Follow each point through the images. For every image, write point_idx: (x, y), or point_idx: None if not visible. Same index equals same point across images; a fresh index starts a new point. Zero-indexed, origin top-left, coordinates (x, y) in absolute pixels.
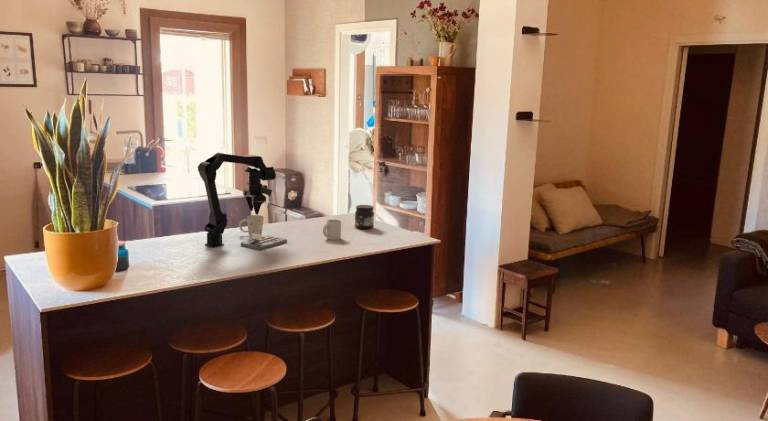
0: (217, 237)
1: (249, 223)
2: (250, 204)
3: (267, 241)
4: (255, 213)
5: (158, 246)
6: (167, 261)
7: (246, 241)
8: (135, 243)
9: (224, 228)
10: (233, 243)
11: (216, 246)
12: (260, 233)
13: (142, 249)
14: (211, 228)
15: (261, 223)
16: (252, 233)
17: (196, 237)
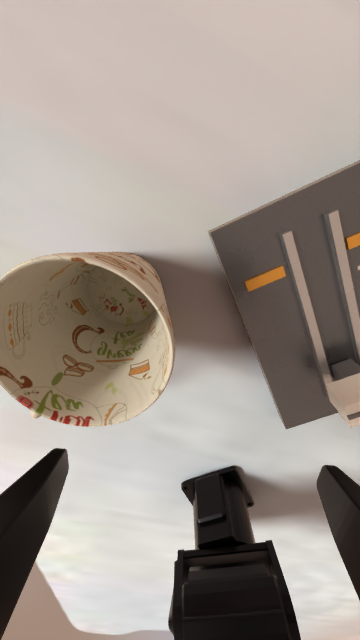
0: (252, 532)
1: (129, 383)
2: (3, 593)
3: (352, 305)
4: (333, 506)
5: (152, 596)
6: (319, 603)
7: (281, 401)
8: (96, 622)
9: (280, 569)
10: (224, 429)
11: (250, 495)
12: (157, 275)
13: (168, 620)
14: (187, 575)
15: (160, 293)
16: (355, 425)
17: (67, 508)
